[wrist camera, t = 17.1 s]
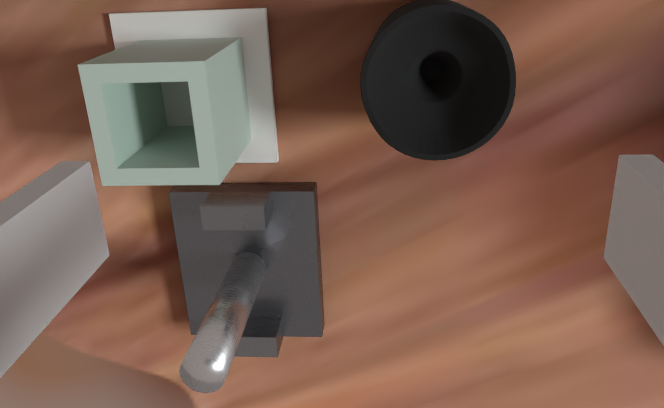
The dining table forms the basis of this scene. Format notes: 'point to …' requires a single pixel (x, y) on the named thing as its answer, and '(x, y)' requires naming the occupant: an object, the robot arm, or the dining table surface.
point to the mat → (214, 25)
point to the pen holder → (438, 80)
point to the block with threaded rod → (246, 272)
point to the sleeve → (150, 118)
